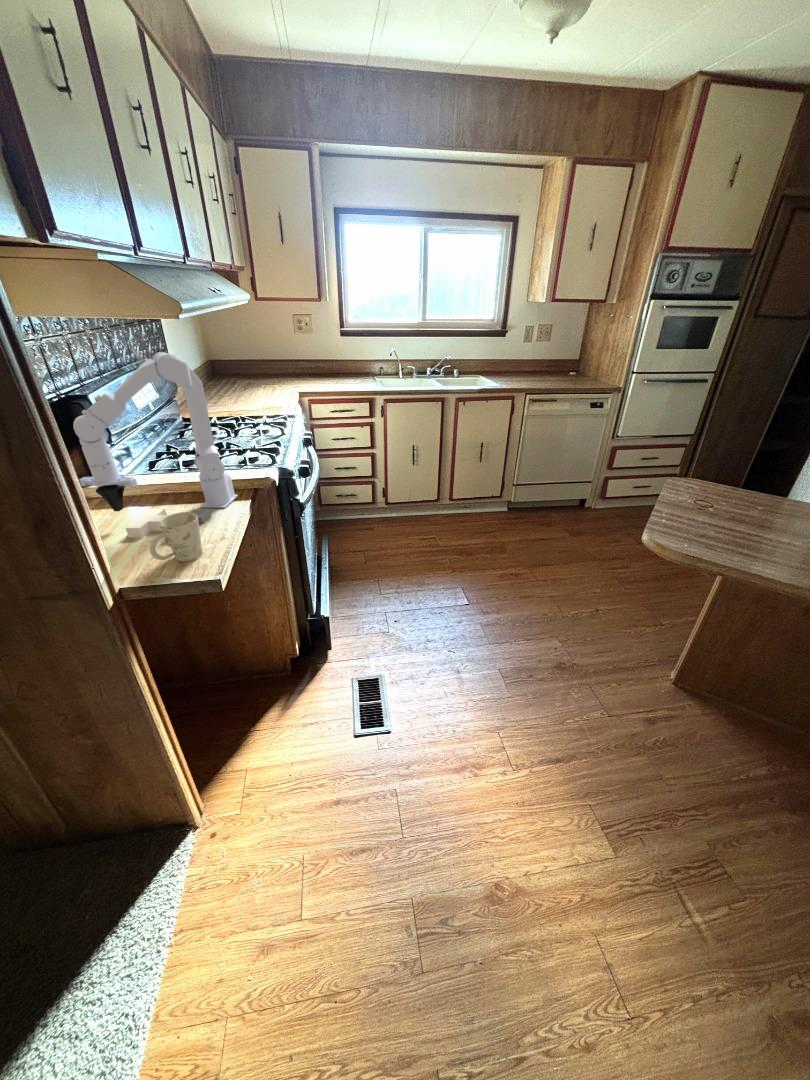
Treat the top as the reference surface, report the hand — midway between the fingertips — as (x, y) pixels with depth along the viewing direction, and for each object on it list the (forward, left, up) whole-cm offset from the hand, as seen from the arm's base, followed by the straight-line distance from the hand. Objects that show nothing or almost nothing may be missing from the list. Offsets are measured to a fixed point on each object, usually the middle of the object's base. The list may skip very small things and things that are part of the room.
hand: (118, 509), depth 118 cm
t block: (0, +10, -5) cm, 11 cm away
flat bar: (0, +20, -5) cm, 20 cm away
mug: (+16, +26, -6) cm, 31 cm away
